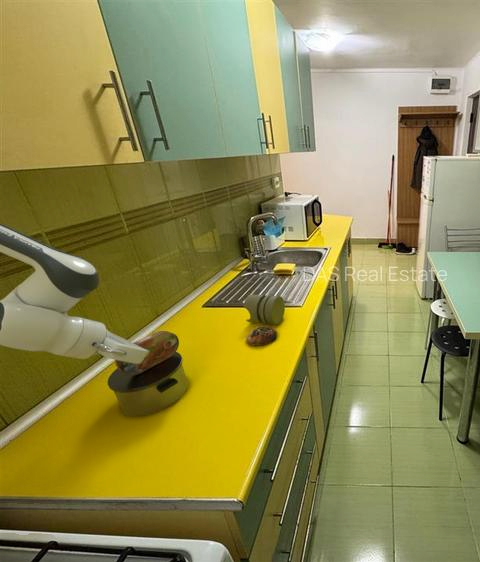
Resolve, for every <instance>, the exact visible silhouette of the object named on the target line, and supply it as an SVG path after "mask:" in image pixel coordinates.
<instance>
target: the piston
mask: <svg viewBox="0 0 480 562" xmlns="http://www.w3.org/2000/svg"><path fill="white" fill-rule="evenodd" d="M285 304H286V303H285V300H284V298H283V296H281V295H265V294H249V295H248V296H246V298H245V300H244V303H243V306H242V308H244V309H246V310H247V311H248V313H249V318H248V319H247V318H246V320H245V321H246V322H247V323H255V324H268V325H279V324H280V323H282V321H283V319H284V316H285V313H286V312H285V311H286V305H285Z"/></svg>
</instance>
